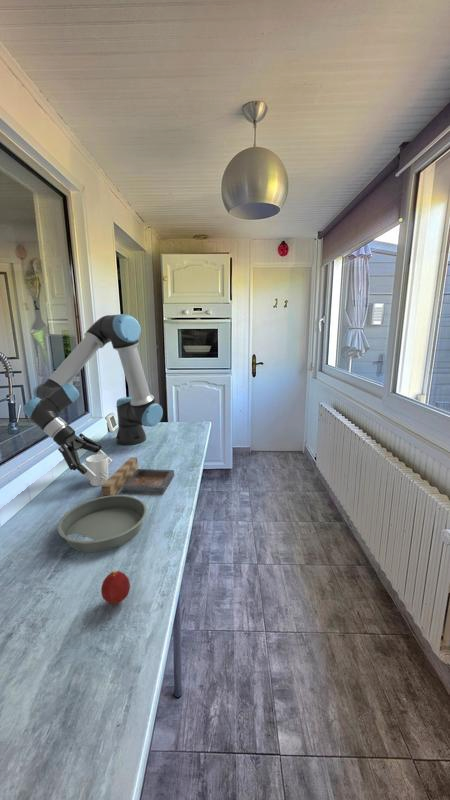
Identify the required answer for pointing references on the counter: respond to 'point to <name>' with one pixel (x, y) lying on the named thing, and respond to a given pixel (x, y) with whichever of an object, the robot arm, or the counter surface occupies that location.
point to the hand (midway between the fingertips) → (102, 470)
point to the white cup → (98, 468)
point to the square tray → (149, 481)
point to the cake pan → (103, 522)
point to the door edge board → (119, 477)
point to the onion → (115, 587)
